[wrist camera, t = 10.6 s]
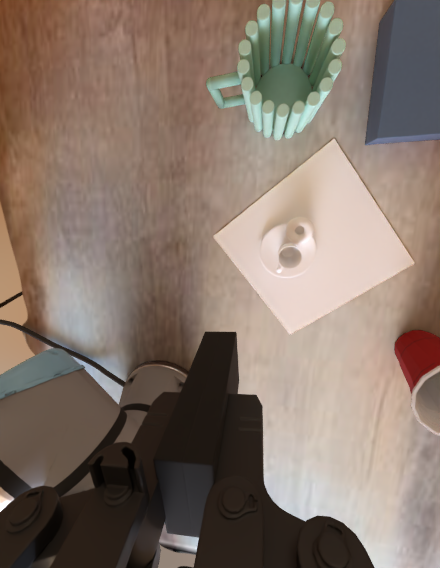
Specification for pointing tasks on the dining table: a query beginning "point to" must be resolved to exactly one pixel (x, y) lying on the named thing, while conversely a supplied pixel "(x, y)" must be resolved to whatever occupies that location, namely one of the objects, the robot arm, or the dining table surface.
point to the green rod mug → (284, 67)
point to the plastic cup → (422, 375)
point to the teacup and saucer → (314, 241)
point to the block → (406, 75)
